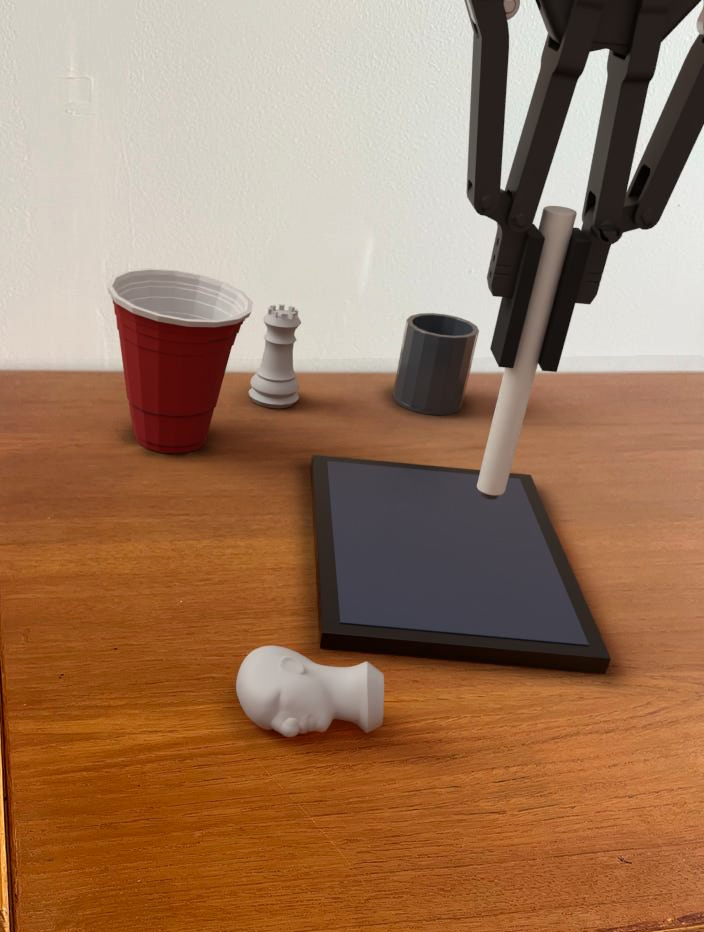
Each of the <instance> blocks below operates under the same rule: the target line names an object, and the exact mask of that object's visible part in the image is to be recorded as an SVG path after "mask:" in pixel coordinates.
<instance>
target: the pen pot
mask: <svg viewBox="0 0 704 932" xmlns="http://www.w3.org/2000/svg"><path fill="white" fill-rule="evenodd" d="M479 333H480V330H479V327H478V326H477V325H476V324H474V323H473V322H471V321H470V320H467V319H465V318H462V317H458V316H454V315H449V314H445V313H436V312H435V313H434V312H423V313H416V314H412V315H410V316H408V318H407V319H406V321H405V326H404V332H403V336H402V342H401V348H400V352H399V358H398V364H397V368H396V373H395V374H396V375H395V380H394V385H393V393H392V394H393V395H392V398H393V401H394V402H395V403H396V404H398V406H400V407H402V408H404V409H406V410H408V411H411V412H415V413H418V414H424V415H431V416H446V415H452V414H456V413H458V412H459V411H461V409H462V406H463V403H464V401H465V400H464V399H465V397H466V391H467V386H468V383H469V378H470V374H471V369H472V365H473V360H474V355H475V352H476V346H477V343H478V339H479Z"/></svg>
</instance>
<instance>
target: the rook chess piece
mask: <svg viewBox="0 0 704 932" xmlns="http://www.w3.org/2000/svg"><path fill="white" fill-rule="evenodd" d="M285 306H286V304H282V303H281V304H280V303H279V304H278V309H276V308H277V305H276V304H271V305H270V306H269V307H268V309H267V313H266V314H265V315H264V316H263V317H262V321H263V323H264V324H265V327H266V328H267V329H266V332H265V334H264V335H263V339H264V341H265V342H264V351H263V353H262V357H261V362H260V364H259V367H258V368H257V369H256V373H255V374H254V375H253V376H252V377H251V379H250V381H249V382H250V386H251V388H250V389H249V390H248V396H249V397H250V399H251V401H252V402H254V403H255V404H257V405H258V406H261V407H265V408H268V409H287V408H290V407H292V406H293V405H295V403H297V401H298V400H299V399H300V396H299V393H297V392H298V390H299V389H300V383H299V380H298V379H297V377H296V376H297V374H296V371H295V370H294V345H295V343H296V342H297V338H296V335H295V333H296V330H297V329H298V328H299V326H300V325H301V324H302V320H301V319H300V318H299V309H297V308H296V307H295V306H293V305H289V306H288V309H287V310H286V309H285Z"/></svg>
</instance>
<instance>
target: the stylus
mask: <svg viewBox="0 0 704 932" xmlns="http://www.w3.org/2000/svg"><path fill="white" fill-rule="evenodd" d="M577 214H578V213H577V210H575V209H573V208H571V207H565V206H562V205H561V206H560V205H547V206H544V207H543V209H542V213H541V217H540V220H539V225H538V228H537V229H538V231H539V232H541V234H542V235H543V236H544V237H545V241H544V245H543V249H542V253H541V257H540V261H539V265H538V269H537V273H536V277H535V281H534V286H533V290H532V294H531V298H530V302H529V306H528V310H527V314H526V318H525V322H524V326H523V330H522V335H521V339H520V343H519V347H518V351H517V355H516V359H515V363H514V367H513V368H504V371H503V375H502V379H501V382H500V383H501V384H500V387H499V392H498V394H497V395H498V396H497V400H496V403H495V409H494V412H493V416H492V421H491V425H490V429H489V434H488V436H487V437H488V438H487V442H486V446H485V449H484V454H483V458H482V462H481V467H480V469H479V470H480V474H479V479H478V483H477V488H478V490H479V491H481V493H480V494H481V496H482V497H484V498H486V499H491V500H493V499H497V498H498V495H501V494H503V493H504V492H505V489H506V485H507V481H508V478H509V474H510V473H511V471H512V470H511V469H512V466H513V461H514V457H515V454H516V450H517V447H518V443H519V439H520V434H521V432H522V428H523V423H524V419H525V415H526V412H527V407H528V404H529V400H530V396H531V392H532V388H533V384H534V380H535V377H536V372H537V369H538V366H539V364H538V361H539V358H540V354H541V350H542V346H543V342H544V338H545V334H546V330H547V327H548V323H549V319H550V315H551V311H552V307H553V303H554V300H555V296H556V292H557V288H558V284H559V280H560V276H561V272H562V269H563V265H564V261H565V257H566V253H567V249H568V245H569V242H570V238H571V234H572V230H573V227H574V226H575V222H576V219H577Z"/></svg>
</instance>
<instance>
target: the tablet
mask: <svg viewBox="0 0 704 932" xmlns="http://www.w3.org/2000/svg"><path fill="white" fill-rule="evenodd" d="M309 468H310V487H311V504H312V506H311V507H312V508H311V509H312V522H313V524H312V525H313V526H312V527H313V543H314V545H313V546H314V563H315V564H314V566H315V583H316V584H315V585H316V603H317V620H318V621H317V625H318V641H319V644H318V645H319V649H323V650H324V649H325V650H334V651H336V650H337V651H345V652H346V651H347V652H356V653H366V654H367V653H368V654H379V655H389V656H399V657H402V656H403V657H412V658H423V659H432V660H445V661H454V662H455V661H456V662H467V663H478V664H490V665H500V666H502V665H503V666H510V667H511V666H512V667H523V668H533V669H543V670H544V669H545V670H555V671H564V672H565V671H568V672H575V673H576V672H577V673H588V674H598V675H606V674H607V671H608V669H609V666H610V663H611V661H612V657H611V654H610V652H609V650H608V648H607V646H606V643H605V641H604V638H603V636H602V634H601V632H600V629H599V627H598V625H597V623H596V621H595V619H594V616H593V614H592V611H591V609H590V607H589V604H588V602H587V600H586V598H585V596H584V593H583V591H582V589H581V587H580V584H579V582H578V580H577V577H576V575H575V572H574V570H573V568H572V565H571V563H570V561H569V559H568V556H567V553H566V552H565V550H564V547H563V545H562V543H561V540H560V538H559V536H558V534H557V532H556V529H555V527H554V524H553V522H552V520H551V518H550V516H549V513H548V511H547V509H546V506H545V504H544V502H543V500H542V497H541V495H540V492H539V491H538V488H537V486H536V484H535V481H534V478H533V477H532V475H531V474H528V473H527V474H526V473H517V472H510V474H509V478H508V481H507V485H506V489H505V492H504V493H503V494H501V495H498V498H497V499H493V500H491V499H486V498H484V497H482V496H481V494H480V493H481V491H479V490H478V488H477V483H478V479H479V474H480V470H481V469H474V468H473V469H472V468H463V467H451V466H441V465H430V464H419V463H408V462H398V461H387V460H376V459H365V458H356V457H355V458H353V457H345V456H344V457H343V456H333V455H322V454H312V455H311V461H310V467H309Z"/></svg>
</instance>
